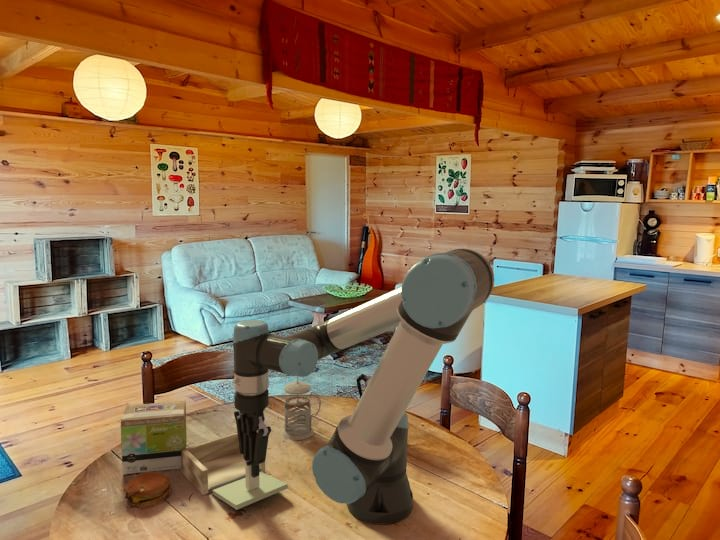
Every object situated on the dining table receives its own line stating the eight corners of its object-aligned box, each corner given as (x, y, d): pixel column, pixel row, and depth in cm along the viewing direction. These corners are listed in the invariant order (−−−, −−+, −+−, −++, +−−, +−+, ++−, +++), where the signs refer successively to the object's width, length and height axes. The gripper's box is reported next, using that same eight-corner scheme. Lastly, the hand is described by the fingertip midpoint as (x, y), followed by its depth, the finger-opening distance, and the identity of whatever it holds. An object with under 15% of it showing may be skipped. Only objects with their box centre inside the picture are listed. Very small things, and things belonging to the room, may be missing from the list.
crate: (265, 471, 131) (264, 449, 130) (203, 495, 120) (202, 471, 119) (240, 451, 140) (240, 430, 140) (181, 471, 130) (180, 449, 129)
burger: (169, 482, 126) (168, 464, 125) (172, 503, 117) (171, 484, 116) (124, 491, 122) (123, 472, 121) (124, 513, 113) (123, 494, 112)
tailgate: (287, 488, 119) (287, 482, 119) (236, 509, 111) (235, 503, 111) (259, 474, 129) (259, 468, 129) (210, 492, 121) (210, 486, 121)
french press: (284, 424, 158) (283, 345, 154) (322, 425, 157) (322, 346, 153) (278, 439, 148) (277, 355, 144) (318, 440, 147) (318, 356, 144)
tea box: (122, 477, 127) (118, 420, 125) (128, 457, 137) (125, 404, 135) (186, 468, 131) (184, 414, 129) (187, 450, 141) (185, 398, 139)
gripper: (222, 384, 117) (224, 480, 121) (250, 403, 108) (252, 506, 111) (252, 377, 122) (253, 469, 126) (281, 394, 112) (281, 494, 116)
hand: (252, 487), depth 119 cm, fingers closed
